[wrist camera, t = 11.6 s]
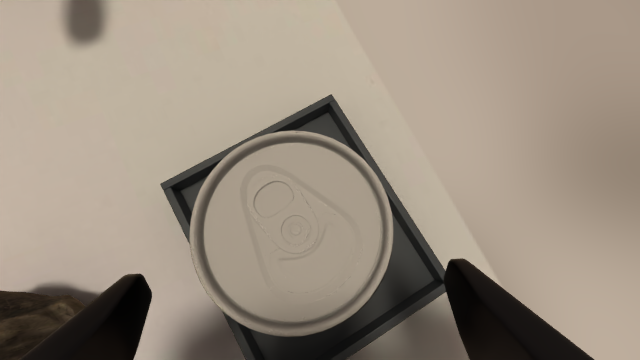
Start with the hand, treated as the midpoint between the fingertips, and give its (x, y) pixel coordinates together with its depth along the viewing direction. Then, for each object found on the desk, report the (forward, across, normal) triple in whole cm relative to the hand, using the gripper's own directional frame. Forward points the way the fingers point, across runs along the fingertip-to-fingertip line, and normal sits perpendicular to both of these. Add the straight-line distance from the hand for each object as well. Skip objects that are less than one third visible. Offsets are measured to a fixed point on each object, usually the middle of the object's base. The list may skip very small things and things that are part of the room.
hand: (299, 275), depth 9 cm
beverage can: (+9, 0, +7) cm, 11 cm away
